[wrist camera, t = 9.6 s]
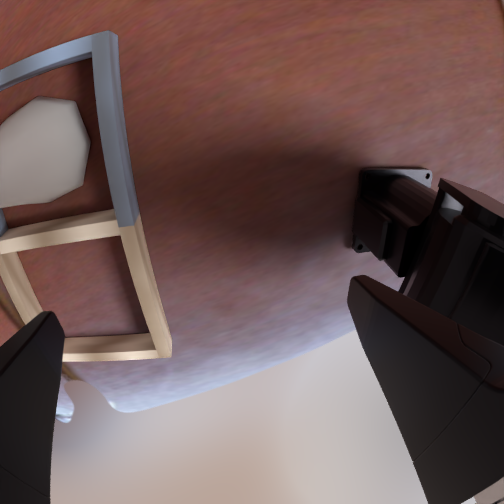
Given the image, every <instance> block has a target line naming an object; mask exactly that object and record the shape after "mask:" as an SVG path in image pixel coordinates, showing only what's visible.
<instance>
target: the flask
mask: <svg viewBox="0 0 504 504" xmlns="http://www.w3.org/2000/svg"><path fill="white" fill-rule="evenodd" d="M90 144H91V141H90V138H89V136H88V133H87V131H86V128H85V126H84V123H83V120H82V118H81V115H80V112H79V110H78V107H77V104H76V102H75V101H71V100H64V99H58V98H51V97H44V96H37V97H36V98H34V99H33V100H31V101H30V102H29V103H27V104H26V105H24V106H23V107H22V108H20V109H19V110H18V111H16V112H15V113H14V114H12V115H11V116H10V117H8V118H7V119H6V120H5V121H4V122H3V123H2V125H1V126H0V208H4V207H10V206H17V205H23V204H36V203H48V202H52V201H54V200H55V199H57V198H59V197H61V196H63V195H65V194H67V193H69V192H71V191H72V190H74V189H76V188H78V187H80V186H82V185H83V182H84V176H85V170H86V164H87V159H88V154H89V149H90Z"/></svg>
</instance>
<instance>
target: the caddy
mask: <svg viewBox="0 0 504 504" xmlns="http://www.w3.org/2000/svg"><path fill="white" fill-rule="evenodd" d="M91 57H92V61H93V75H94V87H95V97H96V106H97V114H98V122H99V129H100V136H101V143H102V149H103V155H104V161H105V166H106V172H107V177H108V182H109V187H110V192H111V197H112V201H113V206H114V209H111V210H105V211H99V212H93V213H87V214H82V215H76V216H71V217H65V218H60V219H55V220H50V221H45V222H40V223H35V224H30V225H26V226H21V227H16V228H12V229H8V226H7V223H6V220H5V217H4V214H3V210H2V208H0V275H1V278H2V280H3V282H4V284H5V286H6V288H7V291H8V293H9V295H10V297H11V299H12V301H13V303H14V305H15V307H16V308H17V310H18V312H19V314H20V316H21V318H22V320H23V321H24V323H25V325H26V324H27V323H28V322H30V321H31V320H32V319H33V318H34V317H36V316H37V315H38V314H39V313H41V312H43V310H42V308H41V306H40V304H39V302H38V300H37V298H36V296H35V294H34V292H33V289H32V287H31V285H30V283H29V280H28V278H27V276H26V274H25V271H24V269H23V266H22V264H21V261H20V259H19V256H18V254H17V251H22V250H28V249H34V248H40V247H46V246H52V245H58V244H64V243H71V242H77V241H84V240H90V239H97V238H104V237H111V236H118V235H121V239H122V243H123V247H124V251H125V254H126V258H127V262H128V265H129V269H130V272H131V276H132V279H133V282H134V286H135V289H136V292H137V295H138V298H139V302H140V305H141V308H142V311H143V314H144V317H145V320H146V323H147V325H148V328H149V331H150V333H144V334H130V335H115V336H97V337H74V338H65V341H64V350H63V360H62V361H117V360H138V359H153V358H167V357H171V354H172V338H171V334H170V331H169V328H168V324H167V321H166V317H165V314H164V310H163V307H162V303H161V300H160V296H159V292H158V289H157V285H156V281H155V277H154V273H153V269H152V265H151V261H150V257H149V253H148V248H147V244H146V240H145V235H144V230H143V226H142V221H141V216H140V211H139V206H138V201H137V196H136V190H135V185H134V179H133V173H132V167H131V161H130V155H129V148H128V141H127V134H126V126H125V118H124V109H123V100H122V90H121V79H120V66H119V50H118V36H117V35H116V34H114V33H112V32H111V31H109V30H107V31H104V32H100V33H96V34H93V35H89V36H86V37H82V38H79V39H76V40H73V41H70V42H67V43H64V44H61V45H58V46H56V47H53V48H50V49H48V50H45V51H42V52H40V53H37V54H35V55H32V56H30V57H28V58H25V59H23V60H21V61H19V62H16V63H14V64H12V65H10V66H8V67H6V68H4V69H2V70H0V91H2V90H4V89H6V88H8V87H11V86H13V85H15V84H17V83H20V82H22V81H25V80H27V79H29V78H32V77H34V76H37V75H40V74H42V73H45V72H48V71H50V70H53V69H56V68H59V67H62V66H65V65H68V64H71V63H74V62H78V61H81V60H84V59H88V58H91Z"/></svg>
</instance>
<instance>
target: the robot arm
mask: <svg viewBox="0 0 504 504" xmlns="http://www.w3.org/2000/svg"><path fill="white" fill-rule="evenodd" d="M367 173H368V174H369V175H368V177H367V178H365V175H366V174H367ZM426 174H427V176H426V177H425V175H426ZM431 181H432V172H431V171H430V170H428V169H426V168H364V169H362V170H361V172H360V174H359V185H358V197H357V199H356V200H355V209H354V219H353V228H352V231H353V232H354V235H353V243H352V248H353V249H354V250H355V252H357V253H362V252H369V251H371V252H372V253H373V254H374V255H375V256H376V257H377V258H378V260H380V261H381V260H384V261H385V263H386V264H387V265H388V266H389V267H390V268H391V269H392V270H393V271H394V273H395V274H396V275H397V276H398V277H405V278H404V280H403V283H402V285H401V287H400V289H399V291H396V290H394V289H392V288H390V287H388V286H386V285H384V284H382V283H380V282H378V281H376V280H374V279H372V278H370V277H368V276H366V275H359V276H354V277H352V278H351V281H350V286H349V292H348V298H347V303H348V307H349V310H350V313H351V316H352V319H353V321H354V324H355V327H356V330H357V333H358V336H359V339H360V341H361V344H362V347H363V349H364V351H365V354H366V356H367V358H368V360H369V362H370V364H371V366H372V369H373V371H374V373H375V375H376V377H377V379H378V381H379V384H380V386H381V388H382V390H383V393H384V395H385V397H386V399H387V402H388V404H389V406H390V408H391V411H392V413H393V415H394V418H395V420H396V422H397V425H398V427H399V429H400V432H401V434H402V437H403V439H404V441H405V444H406V446H407V449H408V451H409V454H410V456H411V459H412V461H414V462H413V464H414V467H415V469H416V472H417V475H418V477H419V480H420V482H421V485H422V487H423V490H424V493H425V496H426V499H427V501H428V504H461V503H463V502H464V501H466V500H468V499H470V498H472V497H473V496H474V498H475V500H476V502H477V503H475V504H504V204H502V203H500V202H499V201H497V200H495V199H493V198H492V197H490V196H488V195H486V194H484V193H482V192H479V191H477V190H474V189H471V188H469V187H466V186H463V185H460V184H458V183H455V182H452V181H449V180H446V179H443V178H440V181H439V184H438V187H439V190H438V193H437V192H436V191H434V190H432V189H430V188H431ZM360 244H361V245H360ZM358 245H360V247H358ZM357 247H358V248H357ZM64 341H65V334H64V330H63V328H62V326H61V324H60V323H59V321H58V319H57V317H56V315H55V313H54V312H52V311H43V312H41V313H39V314H38V315H37V316H36V317H34V318H33V319H32V320H31V321H30V322H28V323H27V324H26V325H25V326H24V327H23V328H21V329H20V330H19V331H18V332H17V333H16V334H14V335H13V336H12V337H11V338H10V339H9V340H8V341H6V342H5V343H4V344H3V345H2V346H1V347H0V504H50V475H51V454H52V442H53V432H54V423H55V414H56V407H57V400H58V394H59V387H60V381H61V371H62V360H63V350H64Z"/></svg>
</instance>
